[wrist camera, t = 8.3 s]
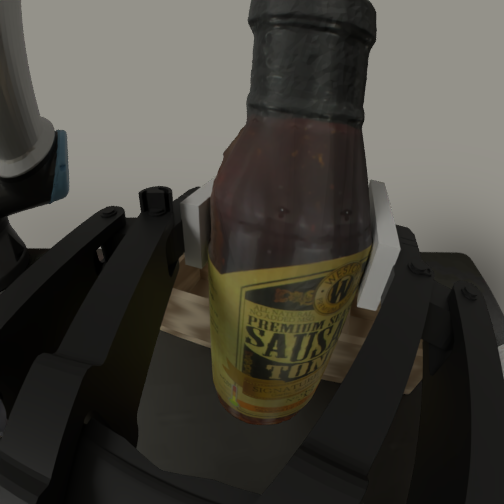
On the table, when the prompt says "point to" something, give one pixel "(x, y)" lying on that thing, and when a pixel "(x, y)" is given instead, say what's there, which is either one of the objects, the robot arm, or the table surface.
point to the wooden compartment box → (198, 324)
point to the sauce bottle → (291, 208)
